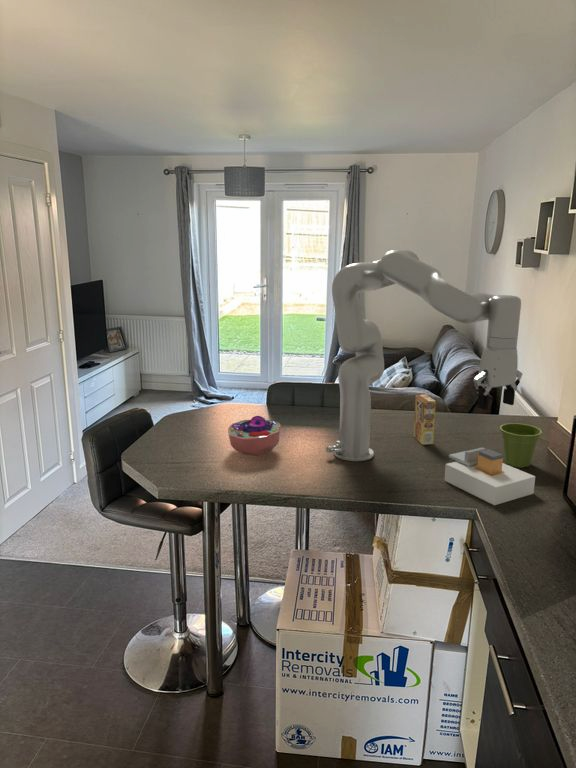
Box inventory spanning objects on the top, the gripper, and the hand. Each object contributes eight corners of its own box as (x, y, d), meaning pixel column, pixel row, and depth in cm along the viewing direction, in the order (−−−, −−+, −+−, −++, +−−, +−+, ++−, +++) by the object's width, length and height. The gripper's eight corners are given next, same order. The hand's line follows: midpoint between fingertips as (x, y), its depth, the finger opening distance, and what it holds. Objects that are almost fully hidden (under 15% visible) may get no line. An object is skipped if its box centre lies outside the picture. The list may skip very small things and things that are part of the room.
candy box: (433, 444, 190) (436, 400, 186) (421, 445, 190) (424, 401, 186) (424, 436, 199) (426, 394, 195) (412, 436, 198) (415, 394, 194)
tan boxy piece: (489, 488, 154) (492, 457, 151) (475, 481, 158) (478, 451, 156) (500, 485, 155) (503, 454, 153) (486, 478, 160) (488, 448, 158)
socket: (494, 505, 146) (496, 487, 144) (444, 480, 161) (445, 464, 160) (533, 493, 153) (535, 476, 151) (481, 470, 168) (483, 455, 167)
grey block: (469, 466, 157) (470, 453, 157) (448, 457, 164) (449, 444, 163) (486, 462, 161) (487, 449, 160) (465, 453, 167) (467, 441, 166)
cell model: (215, 458, 177) (214, 423, 174) (247, 439, 195) (246, 407, 192) (263, 467, 170) (263, 431, 167) (291, 446, 188) (291, 414, 185)
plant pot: (491, 456, 180) (494, 422, 177) (529, 457, 179) (532, 423, 177) (504, 470, 168) (507, 435, 165) (544, 471, 168) (548, 435, 165)
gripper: (512, 338, 154) (506, 399, 159) (466, 343, 146) (461, 407, 150) (536, 342, 148) (529, 405, 152) (489, 348, 140) (483, 414, 144)
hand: (495, 406), depth 151 cm, fingers open, 9 cm apart
